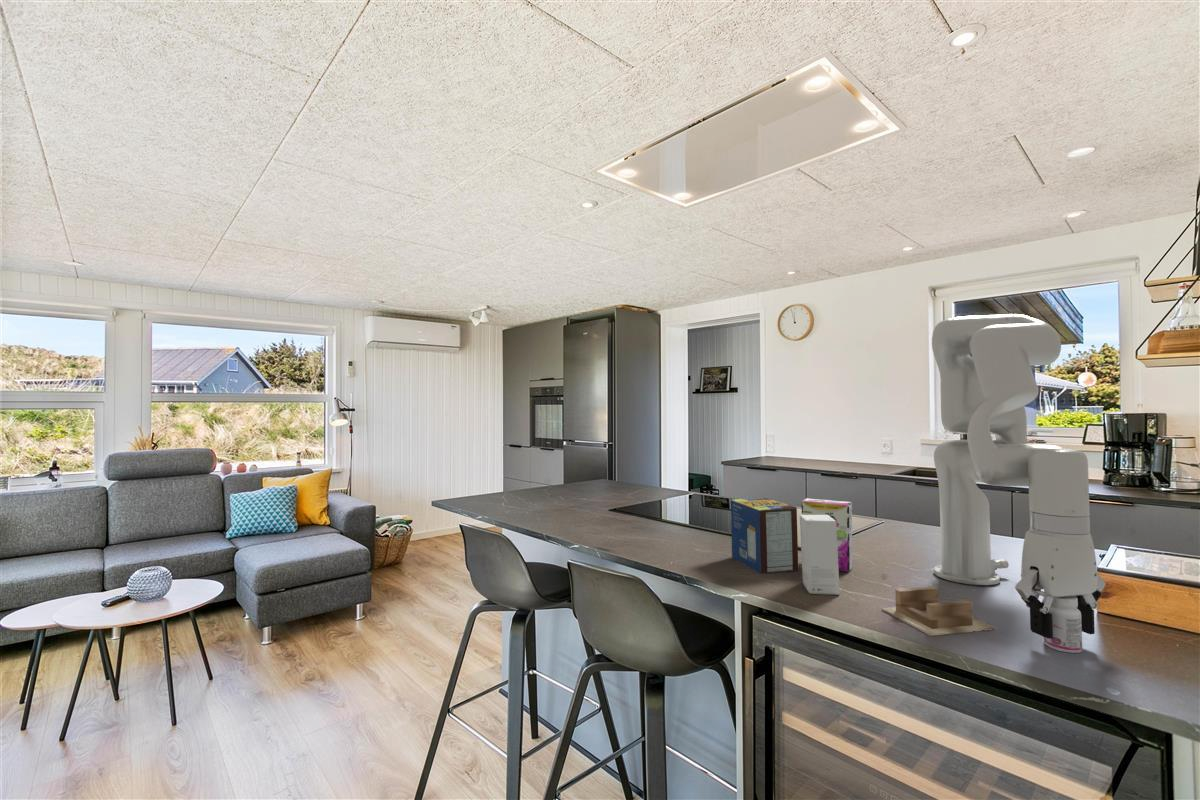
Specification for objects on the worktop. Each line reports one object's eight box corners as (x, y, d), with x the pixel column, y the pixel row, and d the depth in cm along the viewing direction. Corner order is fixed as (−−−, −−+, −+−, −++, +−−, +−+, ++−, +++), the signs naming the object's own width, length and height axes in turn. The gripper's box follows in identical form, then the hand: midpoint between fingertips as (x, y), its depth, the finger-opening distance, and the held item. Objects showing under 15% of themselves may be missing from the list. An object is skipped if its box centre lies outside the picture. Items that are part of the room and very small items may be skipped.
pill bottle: (1035, 641, 89) (1034, 590, 89) (1062, 640, 90) (1060, 589, 90) (1063, 654, 84) (1061, 600, 85) (1090, 653, 85) (1089, 599, 85)
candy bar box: (801, 566, 133) (800, 500, 134) (805, 561, 138) (804, 497, 138) (850, 573, 127) (849, 504, 128) (853, 567, 132) (852, 501, 132)
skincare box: (840, 596, 112) (838, 521, 112) (806, 594, 113) (805, 520, 114) (831, 583, 120) (829, 513, 121) (800, 581, 122) (798, 513, 122)
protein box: (766, 554, 145) (765, 497, 145) (799, 571, 130) (797, 507, 130) (730, 557, 142) (729, 499, 143) (759, 574, 127) (758, 509, 128)
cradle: (940, 605, 106) (939, 583, 106) (994, 629, 94) (994, 604, 94) (881, 610, 104) (881, 587, 104) (930, 635, 92) (929, 610, 92)
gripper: (1079, 517, 93) (1082, 620, 92) (992, 522, 90) (995, 628, 89) (1128, 526, 85) (1132, 638, 85) (1036, 531, 82) (1039, 647, 82)
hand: (1062, 632), depth 87 cm, fingers open, 7 cm apart
